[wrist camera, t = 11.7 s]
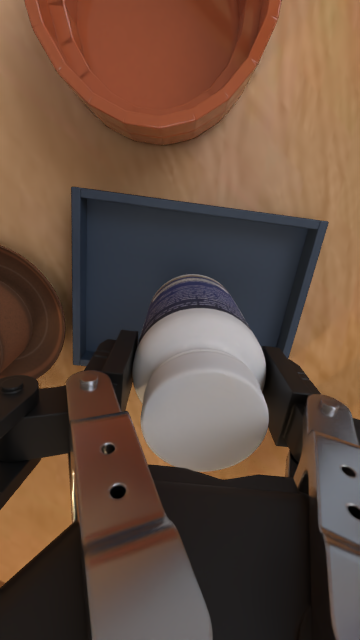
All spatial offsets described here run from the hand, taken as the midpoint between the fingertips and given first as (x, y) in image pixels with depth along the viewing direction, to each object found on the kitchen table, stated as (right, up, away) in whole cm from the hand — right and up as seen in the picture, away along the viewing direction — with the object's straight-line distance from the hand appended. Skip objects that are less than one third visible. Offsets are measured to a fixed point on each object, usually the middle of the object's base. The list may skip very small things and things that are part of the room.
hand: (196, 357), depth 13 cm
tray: (0, +4, +10) cm, 11 cm away
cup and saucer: (-16, +2, +11) cm, 19 cm away
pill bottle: (0, +2, +5) cm, 6 cm away
